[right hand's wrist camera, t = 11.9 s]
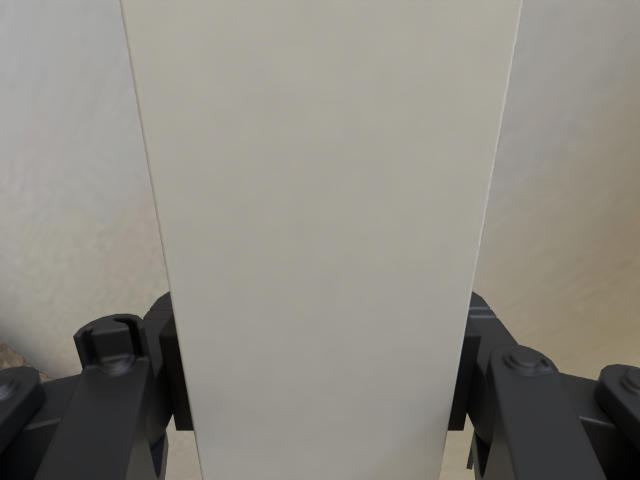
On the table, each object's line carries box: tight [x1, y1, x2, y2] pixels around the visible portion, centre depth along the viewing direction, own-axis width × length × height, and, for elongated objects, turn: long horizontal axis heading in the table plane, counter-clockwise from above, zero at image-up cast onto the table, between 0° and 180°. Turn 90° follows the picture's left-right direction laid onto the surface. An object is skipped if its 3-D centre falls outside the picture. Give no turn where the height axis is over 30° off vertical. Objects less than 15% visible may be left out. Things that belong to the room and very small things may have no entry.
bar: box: [120, 0, 523, 480], centre depth 9 cm, size 22×5×8 cm, turn 0°
